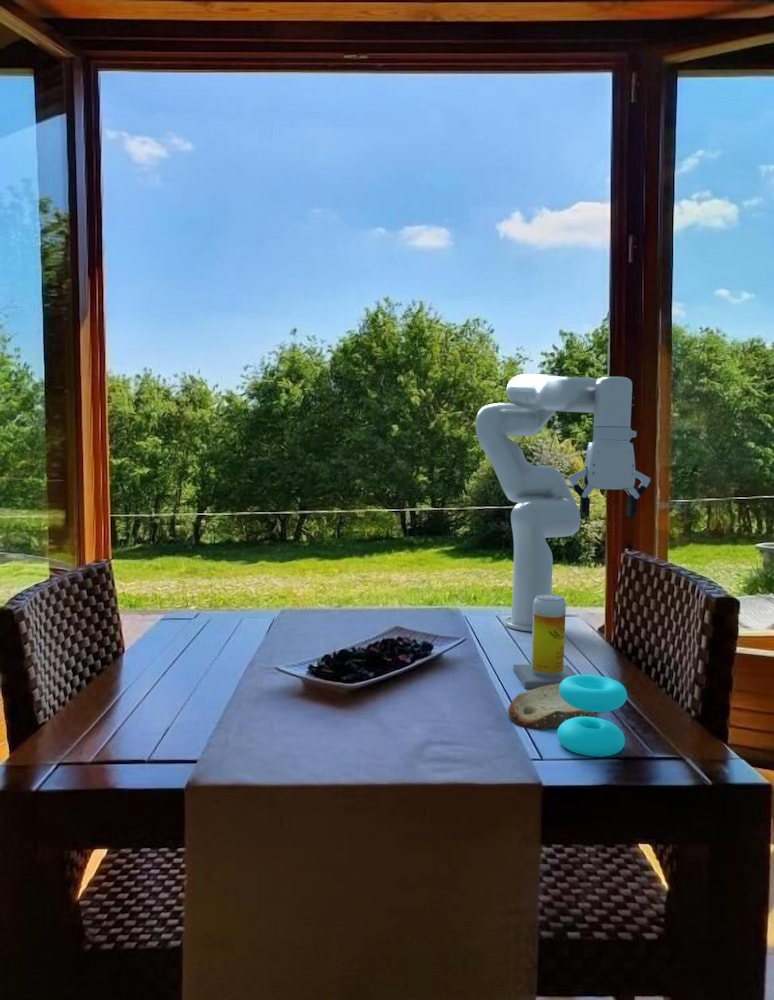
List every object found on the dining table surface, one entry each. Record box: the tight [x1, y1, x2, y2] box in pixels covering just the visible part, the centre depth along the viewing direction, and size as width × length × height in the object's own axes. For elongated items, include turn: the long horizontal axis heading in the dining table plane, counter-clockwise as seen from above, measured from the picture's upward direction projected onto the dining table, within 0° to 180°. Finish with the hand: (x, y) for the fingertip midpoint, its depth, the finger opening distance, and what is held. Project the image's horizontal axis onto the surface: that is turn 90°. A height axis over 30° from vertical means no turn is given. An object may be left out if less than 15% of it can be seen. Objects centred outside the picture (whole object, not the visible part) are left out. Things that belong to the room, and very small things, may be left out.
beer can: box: [530, 593, 567, 677], centre depth 148 cm, size 6×6×15 cm
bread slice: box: [507, 683, 599, 731], centre depth 132 cm, size 18×18×4 cm
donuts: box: [556, 674, 628, 758], centre depth 117 cm, size 10×10×10 cm
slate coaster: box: [512, 664, 577, 690], centre depth 149 cm, size 11×11×1 cm
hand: (607, 516), depth 164 cm, fingers open, 9 cm apart
